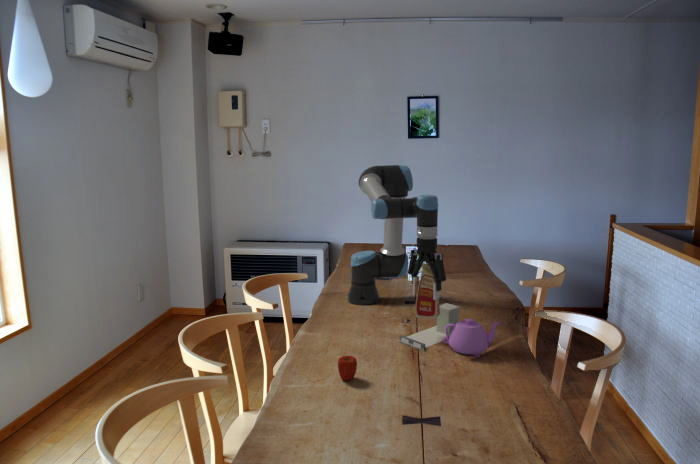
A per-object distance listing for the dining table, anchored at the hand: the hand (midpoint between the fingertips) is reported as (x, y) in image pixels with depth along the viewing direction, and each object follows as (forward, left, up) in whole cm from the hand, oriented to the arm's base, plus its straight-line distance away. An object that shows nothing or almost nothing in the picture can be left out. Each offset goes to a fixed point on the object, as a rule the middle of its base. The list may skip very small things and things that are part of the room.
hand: (426, 296), depth 202 cm
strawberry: (+4, -43, -18) cm, 47 cm away
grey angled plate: (0, +4, -18) cm, 18 cm away
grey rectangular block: (+1, +12, -17) cm, 21 cm away
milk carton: (0, +2, -8) cm, 8 cm away
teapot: (+18, +4, -18) cm, 26 cm away
